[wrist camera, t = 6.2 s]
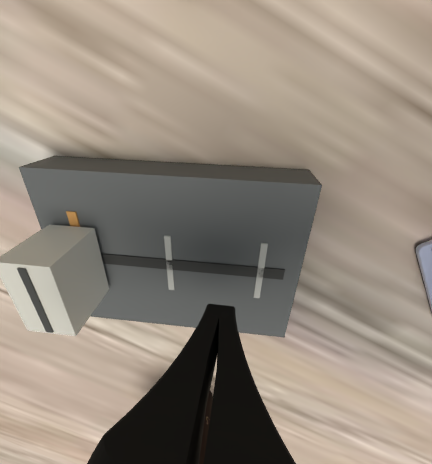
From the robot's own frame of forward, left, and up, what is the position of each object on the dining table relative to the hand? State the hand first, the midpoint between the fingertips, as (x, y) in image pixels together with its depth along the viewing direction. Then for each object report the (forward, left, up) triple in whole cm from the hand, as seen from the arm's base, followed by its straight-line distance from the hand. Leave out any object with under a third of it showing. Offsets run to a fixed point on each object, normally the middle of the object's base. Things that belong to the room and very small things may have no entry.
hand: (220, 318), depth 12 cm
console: (+3, -2, -7) cm, 8 cm away
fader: (+8, -5, -4) cm, 11 cm away
